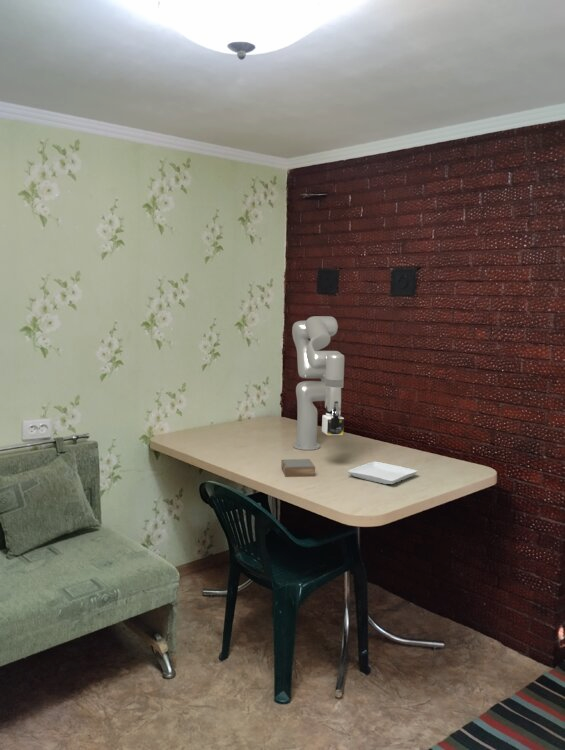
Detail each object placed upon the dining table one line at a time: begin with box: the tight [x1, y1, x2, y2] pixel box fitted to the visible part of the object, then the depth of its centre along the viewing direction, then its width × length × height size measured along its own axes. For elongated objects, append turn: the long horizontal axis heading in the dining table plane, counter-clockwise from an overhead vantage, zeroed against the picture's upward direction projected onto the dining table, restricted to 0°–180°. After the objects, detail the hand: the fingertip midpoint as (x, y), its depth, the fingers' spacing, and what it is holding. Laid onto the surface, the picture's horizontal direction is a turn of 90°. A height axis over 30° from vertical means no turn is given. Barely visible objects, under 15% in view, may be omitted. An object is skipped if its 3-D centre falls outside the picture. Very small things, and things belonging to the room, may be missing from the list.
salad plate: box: [347, 461, 419, 485], centre depth 257 cm, size 21×21×3 cm
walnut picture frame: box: [280, 458, 316, 478], centre depth 261 cm, size 12×12×4 cm
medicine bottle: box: [321, 405, 345, 436], centre depth 265 cm, size 7×7×12 cm
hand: (332, 425), depth 265 cm, fingers closed on medicine bottle, 7 cm apart
